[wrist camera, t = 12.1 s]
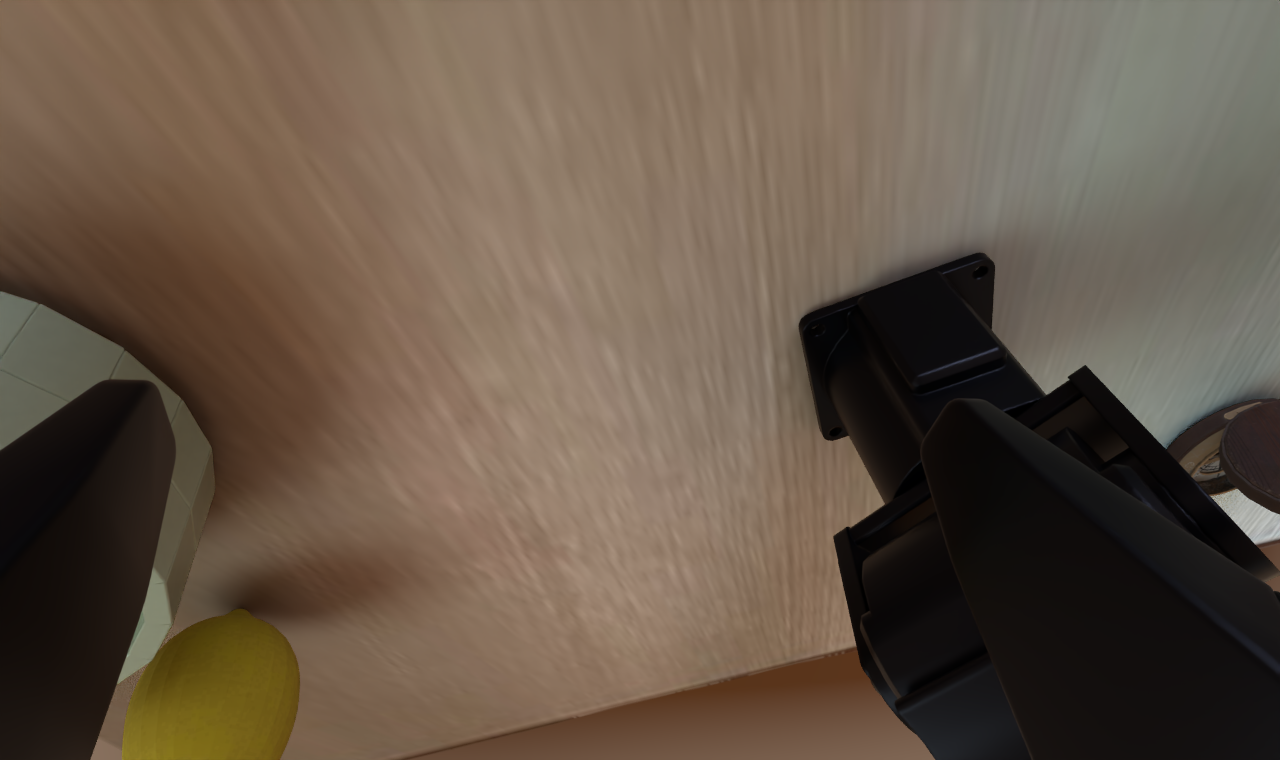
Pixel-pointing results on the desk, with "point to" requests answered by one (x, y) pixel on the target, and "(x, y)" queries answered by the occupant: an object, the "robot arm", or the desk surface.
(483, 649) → the desk surface
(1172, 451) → the compass
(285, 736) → the lemon
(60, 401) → the bowl
